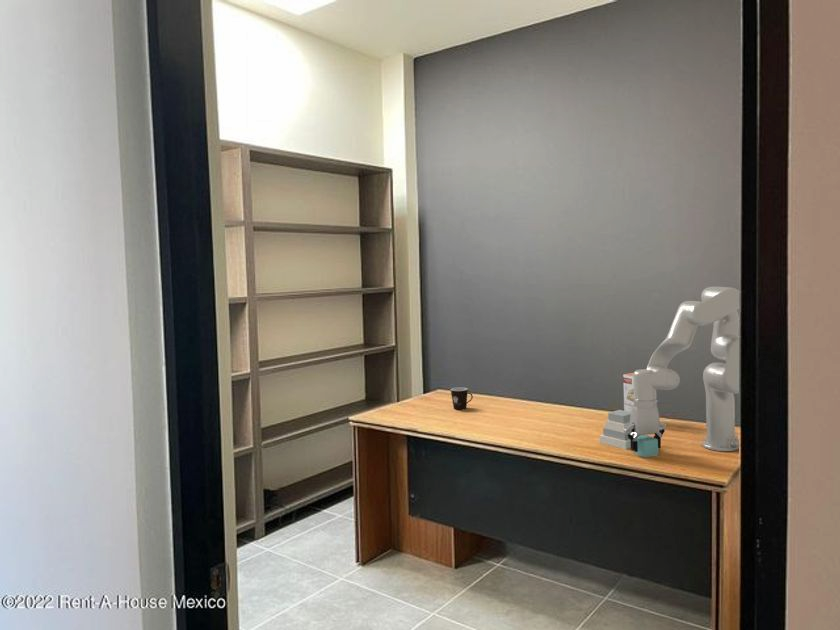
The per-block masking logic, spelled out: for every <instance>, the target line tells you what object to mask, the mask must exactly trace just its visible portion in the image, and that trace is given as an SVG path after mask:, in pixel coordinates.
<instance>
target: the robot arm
mask: <svg viewBox="0 0 840 630" xmlns="http://www.w3.org/2000/svg"><path fill="white" fill-rule="evenodd" d="M739 291H740V290H739V289H737V288H734V287H730V286H729V287H727V286H708V287H706V288H704V289H703V290H702V291H701V295H700V296H701V298H700V299H701V301H697V300H687V301H686V300H685V301H683V302H681V303H680V304H679V306H678V308H677V310H676V313H675V316H674V318H673V320H672V323H671V325H670V328H669V331H668V333H667V335H666V337H665V339H664V340H663V341H662V342H661V343H660V344H659V346H658V347H656V349H655V350H654V351H653V353H652V354H651V357H650V359H649V361H648V364H647V367H646V369H644V368H643V369H642V368H641V369H636V370H635V371H634V372H633V373H634V374H633V383H634V407H632V410H631V415H630V425H629V426H628V427H627V428H625V429H624V432H625V434H626V436H627V437H628V438H629V439H630V442H631V448H630V450H631V451H633V452H634V451H635V452H637V451H638V442H637V441H636V440H637V438H638V437H639V436H641V435H648V436H649V435H653V434H654V435H653V438H656V439H658V449H661V448H662V445H661V444H662V440H661V439H662V438H663V435H664V434H665V430H666V429H667V424H666V423H664V422H661V421H660V420H661V419H660V412H659V409H658V406H657V407H656V403H658V402H659V400H658V398H657V399H656V394H657V390H664V391H670V390H674V389H676V388H678V387H679V385H680V381H681V379H680V375H679V373H677V372H676V371H674V370H673V369H670V368H668V365H669V363H670V361H671V360H672V359H673V358H674V357H675V356H676V355H677V354H678V353H680V352H683V351H684V350H687V349H688V348H690V346H691V345H692V342H693V340H694V338H695V335H696V332H697V330H698V327H699V326H701V327H702V326H703V327H704V326H709V325H711V324H713V329H712V334H711V335H712V336H711V342H710V353H711V355H713V356H714V357H715V358H717V359H719V360H722V361H725V363H723V362H712V363H711V362H710V364H708V365H707V366H705V368H704V370H703V373H702V379H703V385H704V390H705V391H704V392H705V413H706V414H705V416H706V418H705V422H706V428H705V429H706V431H705V432H706V439H704V440H702V442H701V446H702V447H704V448H705V449H708V450H711V451H717V452H734V451H738V450H739V449H740V448H739V440H740V439H739V436H738V435H737V434H736V428H735V427H736V422H735V421H736V419H735V418H736V414H735V411H736V410H735V407H736V406H735V405H736V404H735V396H734V395H736V394H740V393H739V337H740V336H739V334H740V324H739V320H740V315H739V313H738V310H739V308H740V307H739ZM630 432H631V434H630Z"/></svg>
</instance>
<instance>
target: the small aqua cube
mask: <svg viewBox="0 0 840 630" xmlns="http://www.w3.org/2000/svg"><path fill="white" fill-rule="evenodd" d="M636 441H637V442H638V451H637V452H635V451H633V453H634V454H636V455H637V456H639V457H643V458H651V457H656V456H659V448H658V439H656V438H654V436H651V435H649V434H648V435H645V436H639V437H638V438H637V440H636Z"/></svg>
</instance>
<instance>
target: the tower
mask: <svg viewBox="0 0 840 630" xmlns="http://www.w3.org/2000/svg"><path fill="white" fill-rule="evenodd" d="M607 415H608V416H607V417H608V419H606V420H605V427H603V428H602V431H603V432H602V433H603V434H600V435H599V444H603V445H606V446H610V447H614V448H617V449H622V450H629V449H631V442H630V439H629V438H628V437H627V436H626V434H625V432H624V429H625V428H627V427H628V426H629V425H630V415H631V412H628V411H624V410H622V409H617V410H614V411H611V412H608V413H607ZM630 434H631V432H630ZM641 436H645V435H641Z"/></svg>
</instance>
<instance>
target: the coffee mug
mask: <svg viewBox="0 0 840 630" xmlns="http://www.w3.org/2000/svg"><path fill="white" fill-rule="evenodd" d="M450 394H451V400H452V405H453V406H452V407H453V409H455V411H463V410H462V409H465V410H467V404H468V403H470V402H471V401H472V400H473V398H474V397H473V394H472V393H471V392H468V388H467V387H462V386H461V387H453V388H451V389H450ZM468 394H469V395H470V397H471V398H470V399H469V400H468Z"/></svg>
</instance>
